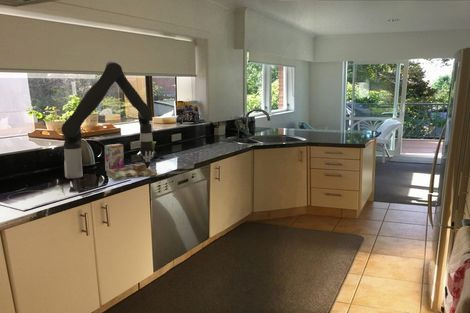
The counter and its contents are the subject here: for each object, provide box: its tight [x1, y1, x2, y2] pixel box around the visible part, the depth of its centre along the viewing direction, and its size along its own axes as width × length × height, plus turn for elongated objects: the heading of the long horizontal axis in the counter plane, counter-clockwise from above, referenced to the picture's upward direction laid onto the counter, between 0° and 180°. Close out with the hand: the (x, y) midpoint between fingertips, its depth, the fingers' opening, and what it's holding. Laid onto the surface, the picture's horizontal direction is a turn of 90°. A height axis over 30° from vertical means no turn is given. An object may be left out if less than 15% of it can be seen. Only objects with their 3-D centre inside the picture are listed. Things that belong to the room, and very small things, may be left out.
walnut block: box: [132, 162, 146, 172], centre depth 247 cm, size 6×6×4 cm
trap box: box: [106, 166, 158, 181], centre depth 243 cm, size 26×14×4 cm, turn 125°
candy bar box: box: [104, 143, 125, 172], centre depth 255 cm, size 11×5×16 cm, turn 141°
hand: (147, 167), depth 251 cm, fingers closed
